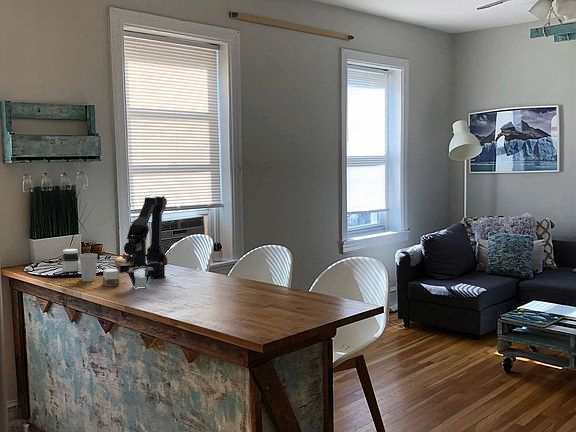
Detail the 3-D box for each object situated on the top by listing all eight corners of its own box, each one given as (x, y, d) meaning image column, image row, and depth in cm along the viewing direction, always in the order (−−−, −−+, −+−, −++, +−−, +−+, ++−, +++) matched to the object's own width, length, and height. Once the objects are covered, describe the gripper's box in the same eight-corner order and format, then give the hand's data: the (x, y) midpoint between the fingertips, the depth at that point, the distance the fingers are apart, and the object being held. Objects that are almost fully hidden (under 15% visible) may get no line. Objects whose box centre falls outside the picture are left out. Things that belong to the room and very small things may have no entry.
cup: (86, 282, 286) (86, 257, 285) (76, 280, 291) (75, 254, 290) (101, 279, 293) (100, 254, 291) (90, 277, 297) (90, 252, 296)
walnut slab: (116, 283, 287) (115, 276, 287) (119, 286, 282) (119, 278, 282) (102, 284, 284) (102, 277, 284) (105, 287, 279) (105, 279, 279)
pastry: (109, 269, 316) (109, 252, 315) (122, 265, 328) (122, 248, 327) (130, 271, 313) (130, 254, 312) (142, 267, 324) (142, 250, 323)
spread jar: (61, 271, 309) (61, 248, 308) (85, 270, 314) (84, 247, 312) (63, 276, 298) (63, 252, 297) (88, 274, 303) (87, 251, 302)
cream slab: (116, 276, 287) (116, 268, 286) (119, 278, 282) (119, 271, 281) (103, 277, 284) (103, 269, 284) (105, 279, 279) (105, 272, 278)
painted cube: (143, 286, 282) (143, 275, 281) (146, 288, 278) (146, 277, 277) (132, 287, 280) (132, 276, 279) (135, 289, 275) (135, 278, 275)
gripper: (154, 247, 288) (154, 280, 290) (113, 249, 279) (114, 283, 281) (161, 250, 279) (161, 285, 280) (120, 253, 269) (120, 289, 271)
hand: (139, 285), depth 278 cm, fingers closed on painted cube, 5 cm apart
